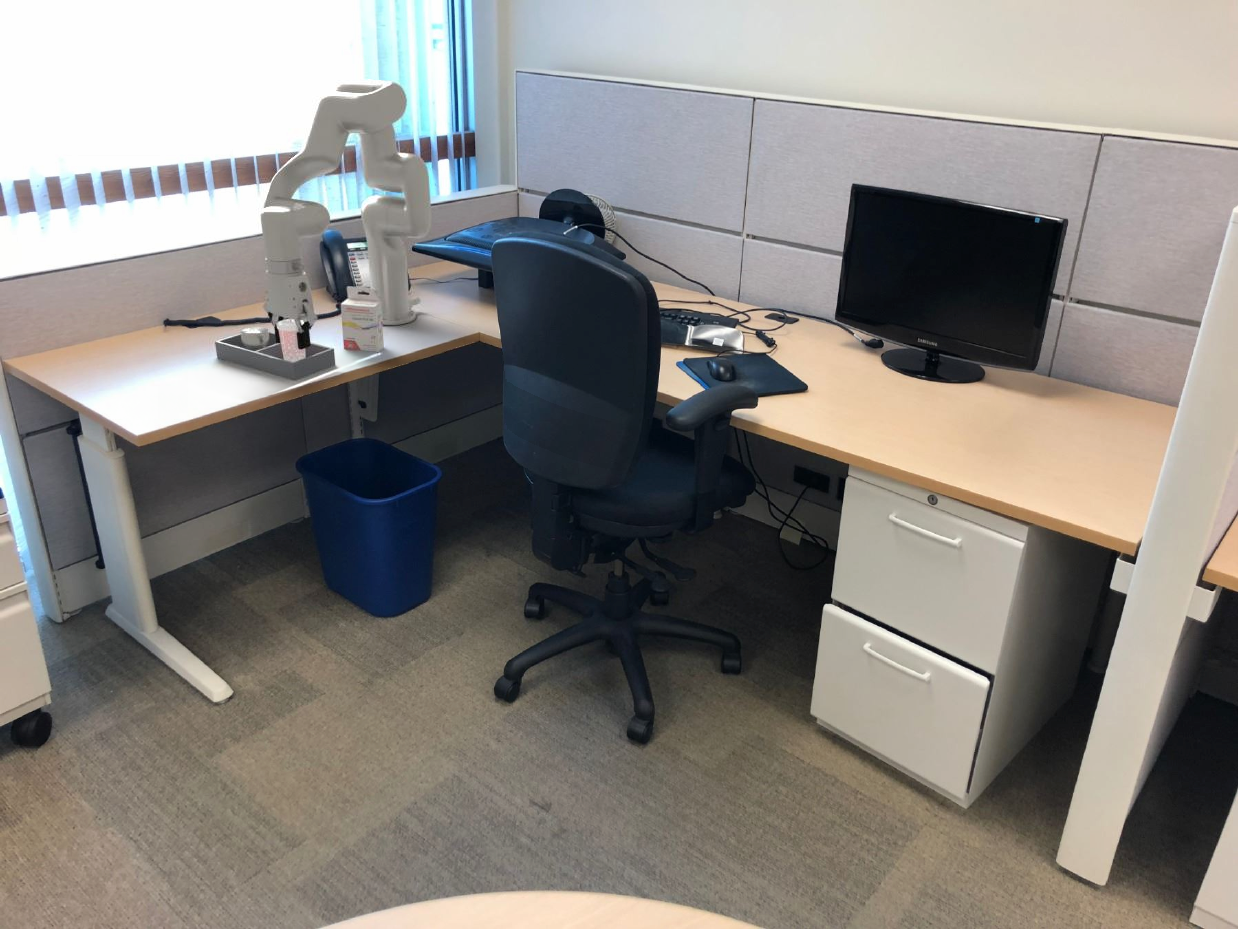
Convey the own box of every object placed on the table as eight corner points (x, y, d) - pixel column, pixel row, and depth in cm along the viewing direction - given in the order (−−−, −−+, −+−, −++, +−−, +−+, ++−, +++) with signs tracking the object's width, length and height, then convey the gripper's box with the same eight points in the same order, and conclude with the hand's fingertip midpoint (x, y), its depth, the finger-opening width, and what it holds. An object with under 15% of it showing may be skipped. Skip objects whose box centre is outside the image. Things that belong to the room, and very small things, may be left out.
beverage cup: (315, 360, 226) (309, 300, 220) (294, 368, 221) (287, 307, 215) (295, 354, 229) (289, 295, 222) (274, 362, 224) (267, 301, 218)
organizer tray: (259, 346, 238) (256, 327, 236) (335, 367, 228) (334, 348, 226) (217, 360, 229) (214, 341, 227) (295, 383, 218) (293, 363, 216)
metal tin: (258, 349, 234) (255, 325, 231) (276, 355, 231) (273, 330, 229) (238, 356, 229) (234, 331, 227) (256, 362, 227) (253, 336, 224)
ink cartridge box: (343, 351, 237) (338, 291, 231) (350, 344, 242) (345, 285, 235) (378, 354, 237) (374, 293, 230) (384, 347, 241) (381, 287, 235)
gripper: (326, 268, 214) (334, 347, 222) (269, 255, 222) (278, 333, 230) (300, 276, 209) (309, 357, 216) (242, 262, 216) (252, 341, 224)
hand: (293, 344), depth 223 cm, fingers closed on beverage cup, 6 cm apart
